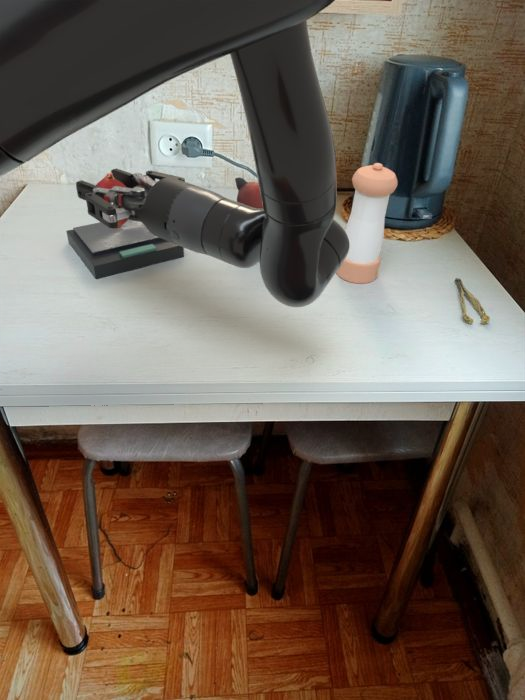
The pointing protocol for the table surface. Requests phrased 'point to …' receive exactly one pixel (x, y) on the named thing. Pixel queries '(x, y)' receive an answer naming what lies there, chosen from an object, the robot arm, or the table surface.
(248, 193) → the stuffed fox
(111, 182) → the onion
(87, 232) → the scale
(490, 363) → the table surface
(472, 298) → the tongs
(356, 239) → the pepper shaker
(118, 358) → the table surface
